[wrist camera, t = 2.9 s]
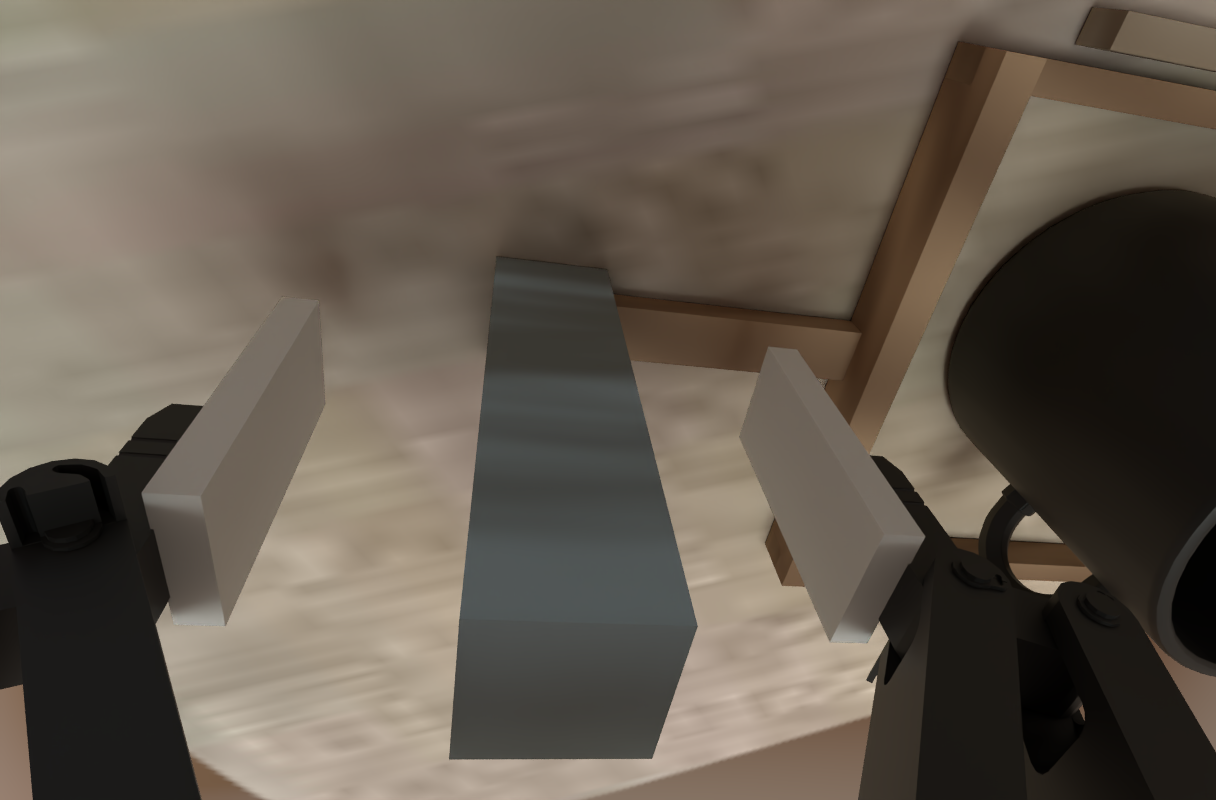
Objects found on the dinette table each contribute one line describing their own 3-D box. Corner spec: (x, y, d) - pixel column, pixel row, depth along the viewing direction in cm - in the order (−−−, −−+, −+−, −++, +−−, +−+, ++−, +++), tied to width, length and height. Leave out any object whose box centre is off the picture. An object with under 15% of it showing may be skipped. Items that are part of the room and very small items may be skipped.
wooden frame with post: (521, -43, 15) (508, -40, 5) (1442, 134, 19) (2450, 332, 9) (474, 528, 23) (434, 956, 13) (1116, 562, 28) (1449, 905, 18)
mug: (825, 438, 23) (973, 677, 15) (1138, 115, 18) (1577, 231, 11) (1000, 538, 26) (1190, 772, 19) (1301, 289, 22) (1720, 470, 14)
